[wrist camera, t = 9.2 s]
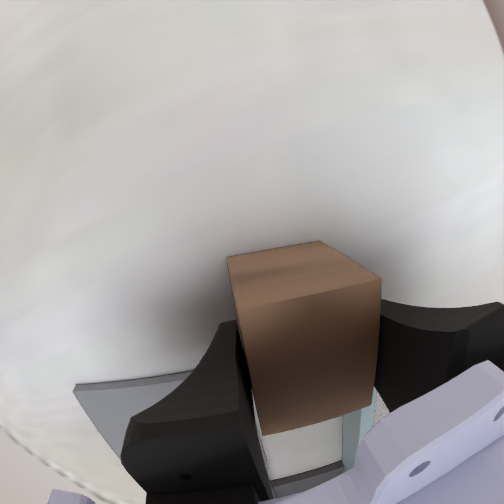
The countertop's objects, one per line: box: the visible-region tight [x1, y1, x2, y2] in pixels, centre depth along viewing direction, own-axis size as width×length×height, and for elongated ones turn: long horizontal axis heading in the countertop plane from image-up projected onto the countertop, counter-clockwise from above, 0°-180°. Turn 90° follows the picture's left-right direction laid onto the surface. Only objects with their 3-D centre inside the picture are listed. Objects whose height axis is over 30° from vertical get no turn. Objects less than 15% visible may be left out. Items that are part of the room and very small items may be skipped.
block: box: [226, 241, 381, 436], centre depth 10 cm, size 5×4×5 cm
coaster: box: [73, 371, 268, 469], centre depth 14 cm, size 9×9×1 cm
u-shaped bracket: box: [269, 387, 377, 499], centre depth 15 cm, size 15×7×2 cm, turn 11°
